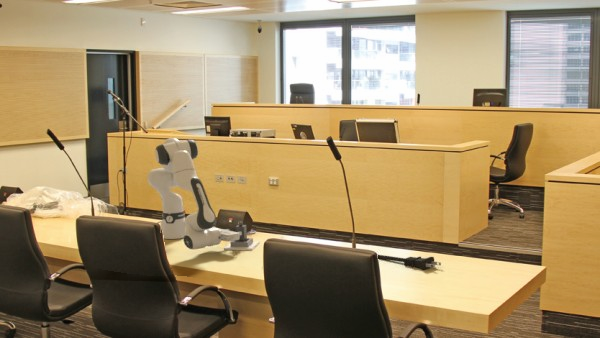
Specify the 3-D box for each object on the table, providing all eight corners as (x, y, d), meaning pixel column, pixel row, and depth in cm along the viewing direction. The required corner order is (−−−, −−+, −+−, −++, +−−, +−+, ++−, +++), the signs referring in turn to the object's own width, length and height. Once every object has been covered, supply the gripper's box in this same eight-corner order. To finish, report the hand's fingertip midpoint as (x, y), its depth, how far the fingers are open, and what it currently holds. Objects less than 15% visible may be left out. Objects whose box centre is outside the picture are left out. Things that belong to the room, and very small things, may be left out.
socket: (232, 243, 392) (232, 236, 392) (259, 243, 389) (259, 237, 389) (223, 249, 378) (223, 243, 377) (252, 250, 375) (251, 243, 374)
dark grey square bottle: (238, 243, 386) (237, 221, 385) (247, 243, 385) (246, 221, 384) (236, 245, 382) (235, 222, 380) (244, 245, 381) (243, 223, 379)
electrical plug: (432, 272, 325) (431, 261, 325) (360, 261, 354) (359, 251, 354) (443, 268, 331) (442, 257, 331) (371, 258, 360) (370, 247, 360)
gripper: (226, 233, 362) (247, 228, 372) (201, 227, 377) (222, 223, 386) (226, 245, 363) (248, 240, 372) (202, 239, 378) (223, 235, 387)
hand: (235, 231), depth 380 cm, fingers open, 8 cm apart
